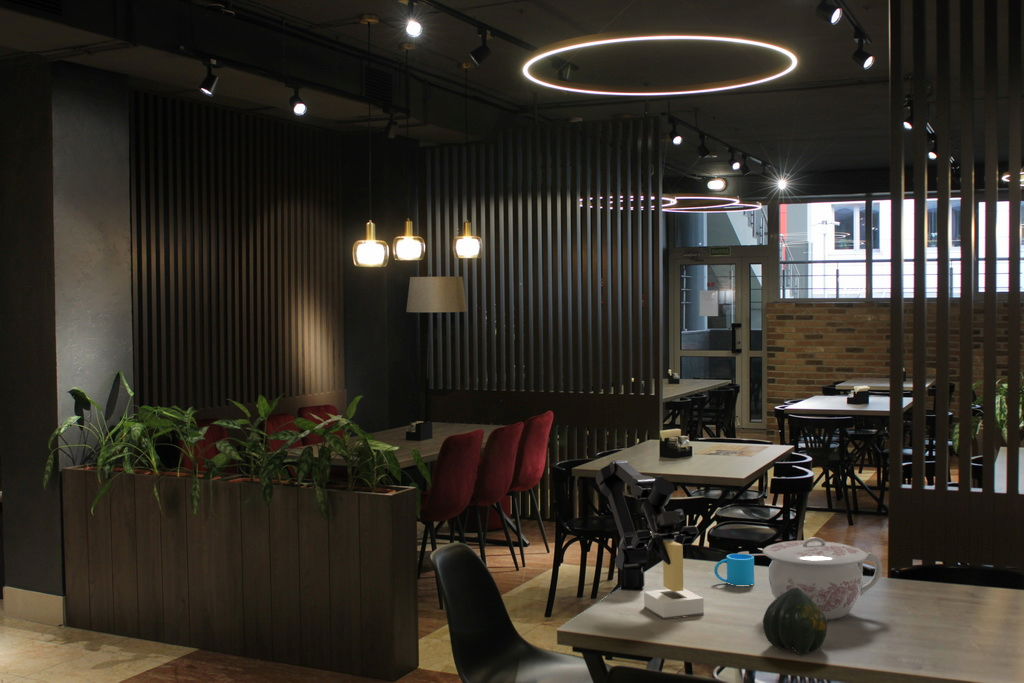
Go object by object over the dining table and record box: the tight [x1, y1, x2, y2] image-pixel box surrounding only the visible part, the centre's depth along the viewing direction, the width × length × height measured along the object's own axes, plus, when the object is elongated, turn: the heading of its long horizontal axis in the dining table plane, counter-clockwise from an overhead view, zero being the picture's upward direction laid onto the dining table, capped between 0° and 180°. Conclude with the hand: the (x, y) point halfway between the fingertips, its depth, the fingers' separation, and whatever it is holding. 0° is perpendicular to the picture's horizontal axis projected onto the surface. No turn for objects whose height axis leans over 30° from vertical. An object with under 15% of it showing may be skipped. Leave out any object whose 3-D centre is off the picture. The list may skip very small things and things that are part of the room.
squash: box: [762, 587, 828, 655], centre depth 244 cm, size 14×15×15 cm
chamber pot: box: [762, 536, 883, 621], centre depth 272 cm, size 28×28×21 cm
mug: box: [714, 553, 755, 585], centre depth 306 cm, size 12×8×8 cm
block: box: [662, 540, 684, 592], centre depth 277 cm, size 6×3×12 cm, turn 18°
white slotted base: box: [643, 587, 705, 620], centre depth 277 cm, size 12×12×4 cm
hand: (675, 563), depth 276 cm, fingers closed on block, 3 cm apart
